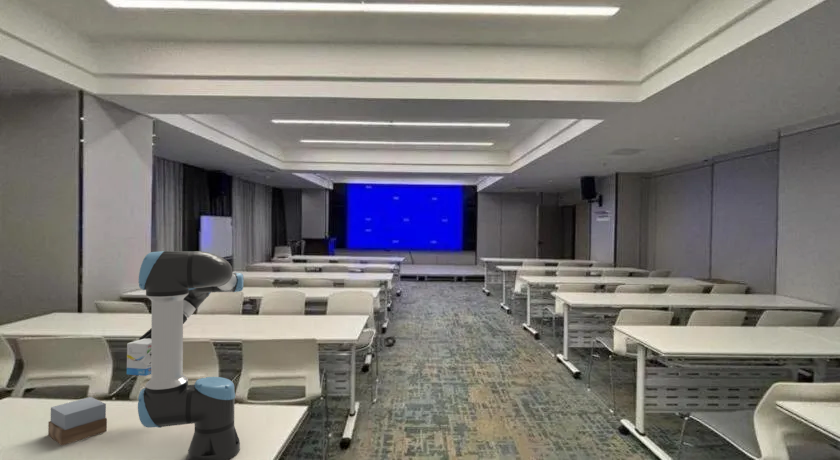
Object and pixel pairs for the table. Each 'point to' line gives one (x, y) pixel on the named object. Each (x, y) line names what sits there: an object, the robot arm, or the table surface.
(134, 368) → the ink box
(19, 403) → the table surface
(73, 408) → the grey top slab
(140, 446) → the table surface
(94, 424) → the walnut base slab
